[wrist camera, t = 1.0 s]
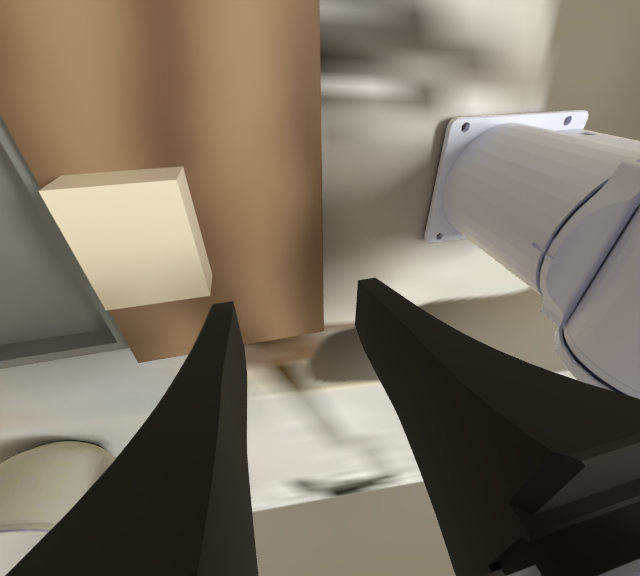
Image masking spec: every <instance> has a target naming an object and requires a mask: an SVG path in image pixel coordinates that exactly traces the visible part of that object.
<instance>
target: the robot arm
mask: <svg viewBox="0 0 640 576" xmlns="http://www.w3.org/2000/svg"><path fill="white" fill-rule="evenodd" d="M565 119H566V120H565ZM587 119H588V112H587V111H584V110H572V111H554V112H537V113H519V114H502V115H485V116H468V117H455V118H453V119H452V120H450V122H449V123H448V125H447V128H446V133H445V138H444V143H443V148H442V153H441V158H440V163H439V167H438V172H437V177H436V182H435V187H434V192H433V197H432V202H431V207H430V211H429V216H428V221H427V226H426V231H425V240H426V241H427V242H429V243H436V242H444V241H452V240H459V239H469V240H470V241H471V242H473V243H474V244H475V245H476V246H478V247H479V248H480V249H482V250H483V251H484V252H486V253H487V254H488V255H489V256H491V257H492V258H493V259H495V260H496V261H497V262H499V263H500V264H501V265H502V266H504V267H505V268H506V269H508V270H509V271H510V272H512V273H513V274H514V275H515V276H517V277H518V278H519V279H521V280H522V281H523V282H525V283H526V284H527V285H528V286H530V287H531V288H532V289H534V290H535V291H536V292H538V293H539V294H540V295H541V296H543V297H544V303H543V306H542V309H541V312H542V313H543V314H544V315H546V316H547V317H548V318H549V319H550V320H552V321H553V322H554V323H555V324H556V325H558V326H559V327H558V328H557V330H556V333H555V336H554V345H555V348H556V351H557V354H558V356H559V357H560V359H561V361H562V362H563V364H564V365H565V366H566V368H567V369H568V370H569V371H570V372H571V373H572V374H573V376H574V377H575V378H576V379H577V380H575V379H572V378H569V377H566V376H563V375H560V374H557V373H554V372H551V371H548V370H546V369H543V368H540V367H538V366H535V365H532V364H530V363H527V362H525V361H522V360H520V359H518V358H515V357H513V356H510V355H508V354H505V353H503V352H501V351H499V350H496V349H494V348H492V347H490V346H488V345H486V344H483V343H481V342H479V341H477V340H475V339H473V338H471V337H469V336H467V335H465V334H463V333H462V332H460V331H458V330H456V329H454V328H452V327H451V326H449V325H447V324H446V323H444V322H442V321H440V320H438V319H437V318H435V317H434V316H432V315H430V314H429V313H427V312H426V311H424V310H422V309H421V308H419V307H418V306H416V305H415V304H413V303H412V302H410V301H409V300H407V299H406V298H404V297H403V296H401V295H400V294H398V293H397V292H396V291H394V290H393V289H391V288H390V287H388V286H387V285H385V284H384V283H382V282H381V281H379V280H378V279H376V278H371V279H364V280H358V289H357V303H356V318H355V326H356V329H357V332H358V335H359V338H360V340H361V343H362V345H363V348H364V351H365V353H366V354H367V357H368V359H369V360H370V362H371V364H372V366H373V368H374V370H375V372H376V374H377V376H378V378H379V380H380V382H381V383H382V385H383V387H384V389H385V391H386V393H387V395H388V397H389V399H390V400H391V402H392V404H393V406H394V408H395V410H396V413H397V415H398V417H399V419H400V422H401V424H402V426H403V429H404V431H405V434H406V436H407V439H408V441H409V444H410V446H411V449H412V451H413V454H414V457H415V459H416V462H417V464H418V467H419V470H420V472H421V475H422V478H423V480H424V483H425V486H426V489H427V491H428V494H429V497H430V499H431V503H432V505H433V508H434V511H435V514H436V517H437V520H438V523H439V526H440V529H441V532H442V535H443V538H444V541H445V544H446V547H447V550H448V553H449V556H450V559H451V563H452V566H453V569H454V572H455V574H456V576H640V141H636V140H632V139H627V138H621V137H617V136H612V135H607V134H602V133H597V132H592V131H587V130H583V128H584V126H585V124H586V121H587ZM564 120H565V122H564ZM464 123H466V127H465V129H464V130H463V131H462V130H461V128H462V125H463V124H464ZM439 233H440V235H439V236H438V237H436V236H437V235H438V234H439ZM5 576H258V568H257V558H256V548H255V538H254V528H253V517H252V506H251V495H250V484H249V472H248V461H247V369H246V359H245V350H244V344H243V340H242V335H241V331H240V327H239V323H238V318H237V314H236V310H235V306H234V302H233V301H229V302H223V303H217V304H213V305H212V306H211V307H210V310H209V313H208V315H207V318H206V320H205V322H204V325H203V327H202V329H201V331H200V333H199V335H198V337H197V339H196V341H195V343H194V345H193V347H192V349H191V351H190V353H189V355H188V357H187V358H186V360H185V362H184V364H183V365H182V367H181V369H180V370H179V372H178V374H177V375H176V377H175V379H174V380H173V382H172V384H171V385H170V387H169V388H168V390H167V391H166V393H165V394H164V396H163V397H162V399H161V400H160V402H159V403H158V405H157V406H156V408H155V409H154V410H153V412H152V413H151V415H150V416H149V417H148V419H147V420H146V421H145V423H144V424H143V425H142V426H141V428H140V429H139V430H138V432H137V433H136V434H135V435H134V437H133V438H132V439H131V441H130V442H129V443H128V445H127V446H126V447H125V448H124V449H123V451H122V452H121V453H120V454H119V455H118V457H117V458H116V459H115V460H114V461H113V463H112V464H111V465H110V466H109V467H108V468H107V469H106V470H105V472H104V473H103V474H102V475H101V476H100V477H99V478H98V479H97V481H96V482H95V483H94V484H93V485H92V486H91V487H90V488H89V490H88V491H87V492H86V493H85V494H84V495H83V496H82V497H81V499H80V500H79V501H78V502H77V503H76V504H75V505H74V506H73V507H72V508H71V509H70V510H69V512H68V513H67V514H66V515H65V516H64V517H63V518H62V519H61V520H60V521H59V522H58V523H57V524H56V525H55V526H54V527H53V528H52V529H51V530H50V531H49V532H48V533H47V534H46V535H45V536H44V537H43V538H42V539H41V540H40V541H39V542H38V543H37V544H36V545H35V546H34V547H33V548H32V549H31V550H30V551H29V552H28V553H27V554H26V555H25V556H24V557H23V558H22V559H21V560H20V561H19V562H18V563H17V564H16V565H15V566H14V567H13V568H12V569H11V570H10V571H9V572H8V573H7V574H6V575H5Z"/></svg>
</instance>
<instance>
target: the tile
mask: <svg viewBox="0 0 640 576" xmlns="http://www.w3.org/2000/svg"><path fill="white" fill-rule="evenodd" d="M39 193H40V195H41V197H42V199H43V200H44V202H45V204H46V206H47V207H48V209H49V211H50V213H51V214H52V216H53V218H54V220H55V221H56V223H57V225H58V227H59V229H60V230H61V232H62V234H63V236H64V237H65V239H66V241H67V243H68V244H69V246H70V248H71V250H72V252H73V253H74V255H75V257H76V259H77V260H78V262H79V264H80V266H81V267H82V269H83V271H84V273H85V275H86V276H87V278H88V280H89V282H90V283H91V285H92V287H93V289H94V290H95V292H96V294H97V296H98V297H99V299H100V301H101V303H102V305H103V306H104V308H105V310H106V311H107V310H114V309H121V308H128V307H135V306H142V305H149V304H156V303H163V302H170V301H177V300H184V299H191V298H198V297H205V296H210V293H211V283H212V272H211V268H210V264H209V261H208V257H207V253H206V250H205V246H204V242H203V239H202V235H201V231H200V228H199V224H198V220H197V216H196V213H195V209H194V205H193V202H192V198H191V194H190V191H189V187H188V183H187V180H186V176H185V172H184V168H183V166H181V167H168V168H154V169H141V170H128V171H114V172H101V173H88V174H74V175H61V176H60V177H58V178H57V179H55V180H54V181H52V182H51V183H49V184H48V185H46V186H45V187H43V188H42V189H41V190H39Z"/></svg>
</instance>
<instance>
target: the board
mask: <svg viewBox="0 0 640 576" xmlns="http://www.w3.org/2000/svg"><path fill="white" fill-rule="evenodd" d="M0 116H1V117H2V119H3V121H4V123H5V124H6V126H7V128H8V130H9V132H10V133H11V135H12V137H13V139H14V141H15V142H16V144H17V146H18V148H19V150H20V151H21V153H22V155H23V157H24V159H25V160H26V162H27V164H28V166H29V168H30V169H31V171H32V173H33V175H34V177H35V178H36V180H37V182H38V184H39V185H40V187H41V189H42V188H43V187H45V186H46V185H48V184H49V183H51V182H52V181H54V180H55V179H57V178H58V177H60V176H61V175H74V174H88V173H101V172H114V171H128V170H141V169H154V168H168V167H181V166H183V168H184V172H185V176H186V180H187V183H188V187H189V191H190V194H191V198H192V202H193V205H194V209H195V213H196V216H197V220H198V224H199V228H200V231H201V235H202V239H203V242H204V246H205V250H206V253H207V257H208V261H209V264H210V268H211V272H212V283H211V293H210V296H205V297H198V298H191V299H184V300H177V301H170V302H163V303H156V304H149V305H142V306H135V307H128V308H121V309H114V310H109V311H110V313H111V315H112V316H113V318H114V320H115V322H116V324H117V325H118V327H119V329H120V331H121V333H122V334H123V336H124V338H125V340H126V342H127V343H128V345H129V347H130V349H131V351H132V352H133V354H134V356H135V358H136V359H137V361H138V363H141V362H146V361H152V360H158V359H164V358H170V357H176V356H181V355H187V354H189V353H190V351H191V349H192V347H193V345H194V343H195V341H196V339H197V337H198V335H199V333H200V331H201V329H202V327H203V325H204V322H205V320H206V318H207V315H208V313H209V310H210V307H211V306H212V305H213V304H217V303H223V302H229V301H233V302H234V306H235V310H236V314H237V318H238V323H239V327H240V331H241V335H242V340H243V344H244V345H246V344H252V343H257V342H263V341H269V340H275V339H281V338H287V337H292V336H298V335H304V334H310V333H316V332H322V331H324V313H323V236H322V160H321V84H320V7H319V0H0Z"/></svg>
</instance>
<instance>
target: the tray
mask: <svg viewBox="0 0 640 576" xmlns="http://www.w3.org/2000/svg"><path fill="white" fill-rule="evenodd" d="M39 190H41V187H40V185H39V184H38V182H37V180H36V178H35V177H34V175H33V173H32V171H31V169H30V168H29V166H28V164H27V162H26V160H25V159H24V157H23V155H22V153H21V151H20V150H19V148H18V146H17V144H16V142H15V141H14V139H13V137H12V135H11V133H10V132H9V130H8V128H7V126H6V124H5V123H4V121H3V119H2V117H1V116H0V369H2V368H8V367H14V366H20V365H26V364H32V363H38V362H45V361H51V360H57V359H63V358H69V357H75V356H81V355H88V354H94V353H100V352H106V351H112V350H118V349H124V348H130V347H129V345H128V343H127V342H126V340H125V338H124V336H123V334H122V333H121V331H120V329H119V327H118V325H117V324H116V322H115V320H114V318H113V316H112V315H111V313H110V311H109V310H107V311H106V310H105V308H104V306H103V305H102V303H101V301H100V299H99V297H98V296H97V294H96V292H95V290H94V289H93V287H92V285H91V283H90V282H89V280H88V278H87V276H86V275H85V273H84V271H83V269H82V267H81V266H80V264H79V262H78V260H77V259H76V257H75V255H74V253H73V252H72V250H71V248H70V246H69V244H68V243H67V241H66V239H65V237H64V236H63V234H62V232H61V230H60V229H59V227H58V225H57V223H56V221H55V220H54V218H53V216H52V214H51V213H50V211H49V209H48V207H47V206H46V204H45V202H44V200H43V199H42V197H41V195H40V193H39Z"/></svg>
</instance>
